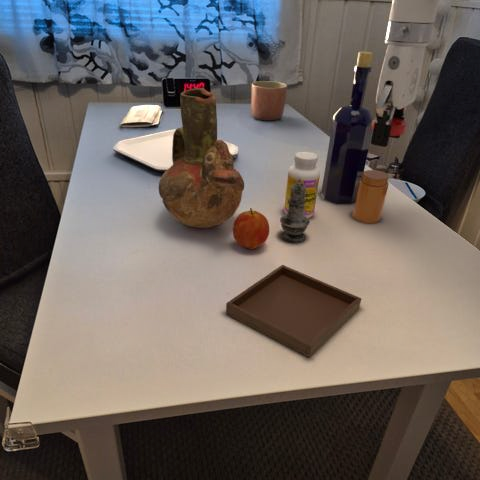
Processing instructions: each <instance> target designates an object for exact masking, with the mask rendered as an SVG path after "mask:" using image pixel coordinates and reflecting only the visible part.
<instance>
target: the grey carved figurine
mask: <svg viewBox="0 0 480 480" xmlns="http://www.w3.org/2000/svg"><path fill="white" fill-rule="evenodd" d="M305 193H306V186H305V185H304V184H302V183H301V179H299V180H298V182H297V183H295V184H293V185H292V187H291V195H290V199H289V200H288V204H289V209H288V213H287V215H286V214H284V215H282V216H281V217H280V218H279V222H280V225H281V228H282V230H283V231H281V232H280V233H279V238H280V240H282V241H284V242H286V243H289V244H299V243H303V242H305V240H306V239H307V236H306V234H305V233H304V232H306V230H307V229H308V226H309V225H310V222H311V221H310V219H309V218H306V217H305V216H304V213H303V211H304V205H306V201H305Z"/></svg>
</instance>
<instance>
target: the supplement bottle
mask: <svg viewBox="0 0 480 480" xmlns="http://www.w3.org/2000/svg"><path fill="white" fill-rule="evenodd" d="M318 159H319V156H318V154H316V153H314V152H312V151H311V152H310V151H298V152H296V153H295V154H294V159H293V160H294V164H293V165H291V166H290V167H289V168H288V172H287V179H286V190H285V195H284V197H285V198H284V206H283V212H284V215H287V213H288V209H289V204H288V200H289V199H290V195H291V187H292V185H293V184H295V183H297V182H298V180H299V179H301V183H302V184H304V185H305V186H306V193H305V201H306V205H304V211H303V213H304V216H305V217H306V218H308V219H309V218H312V217H313V215H314V214H315V209H316V208H315V207H316V202H317V195H318V189H319V182H320V176H321V171H320V169H319V168H318V166H316V165H317V163H318Z"/></svg>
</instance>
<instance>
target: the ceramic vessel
mask: <svg viewBox="0 0 480 480" xmlns="http://www.w3.org/2000/svg"><path fill="white" fill-rule="evenodd" d="M179 102H180V108H179V109H180V117H181V126H180V127H178V128H176V131H175V132H174V135H173V147H172V160H173V165H172V166H171V167H170V168H169V169H167V170H166V171H165V172H163V174H162V175H161V177H160V178H159V181H158V193H159V197H160V198H161V199H162V204H163V206H164V208H165V210H166V211H167V212H168V213H169V214H171V215H172V216H173V217H174V218H175V219H176V220H177V221H179V223H181V224H182V225H184V226H188V227H193V228H198V229H205V228H206V229H207V228H211V227H214V226H219V225H221V224H223V223H225V222H226V221H228V220H229V219H231V217H233V215H234V214H235V213H236V211H237V210H238V208H239V207H240V204H241V202H242V197H243V191H244V190H245V180H244V179H243V176H242V175H241V173H240V171H238V170H237V169H236V168H235V165H234V163H235V161H234V157H233V155H232V154H231V153H230V152H229V149H228V146H227V144H226V143H225V142H226V141H224V140H223V139H219V140H217V139H218V114H217V113H218V112H217V99H216V97H215V96H214V93H213V92H211V91H208V90H206V89H205V88H203V87H194V88H189V89H186V90H184V91H182V92H180V95H179Z"/></svg>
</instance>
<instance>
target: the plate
mask: <svg viewBox="0 0 480 480" xmlns="http://www.w3.org/2000/svg"><path fill="white" fill-rule="evenodd" d="M176 129H177V128H176ZM176 129H169V130H164V131H159V132H154V133H151V134H146V135H142V136H136V137H133V138H128V139H123V140H119V141H117V142H116V143H115V145H114V146H113V148H112V150H113V152H116V153H118V154H120V155H122V156H124V157H126V158H128V159H131V160H133V161H135V162H137V163H139V164H141V165H144V166H146V167H148V168H151V169H152V170H154V171H157V172H162V173H165V171H166V170H167V169H169V168H170V167H171V166H172V165H173V160H172V147H173V135H174V132H175V131H176ZM217 140H220V139H219V138H217ZM224 142H225V143H226V144H227V146H228V149H229V152H230V153H231V154H232V155H233V158H234V157H236V156H238V155H239V147H238V146H237V145H235V144H232V143H230V142H227V141H224Z"/></svg>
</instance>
